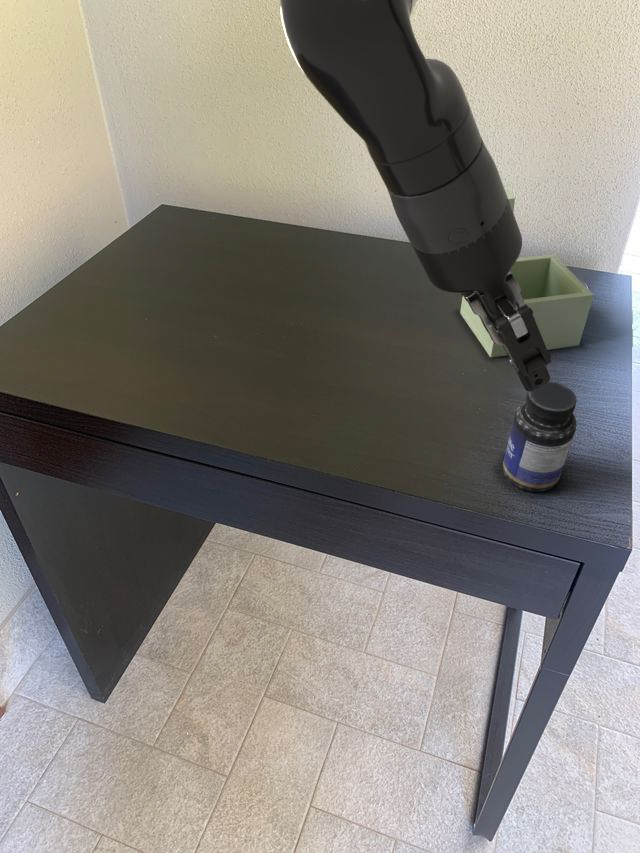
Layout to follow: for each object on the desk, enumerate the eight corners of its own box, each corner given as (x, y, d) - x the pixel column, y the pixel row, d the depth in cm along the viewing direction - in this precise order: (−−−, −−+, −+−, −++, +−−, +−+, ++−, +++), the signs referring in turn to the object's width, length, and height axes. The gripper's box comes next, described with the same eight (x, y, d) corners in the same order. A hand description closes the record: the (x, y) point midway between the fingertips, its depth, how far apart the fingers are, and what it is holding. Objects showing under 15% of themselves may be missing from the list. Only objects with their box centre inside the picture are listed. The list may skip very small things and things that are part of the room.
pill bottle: (505, 449, 77) (523, 371, 70) (560, 460, 76) (585, 382, 69) (498, 487, 73) (517, 408, 66) (557, 500, 72) (583, 420, 64)
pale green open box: (541, 302, 101) (553, 254, 96) (579, 345, 93) (594, 294, 87) (460, 313, 99) (467, 263, 94) (490, 357, 91) (500, 306, 85)
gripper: (545, 231, 44) (596, 384, 55) (465, 146, 54) (521, 289, 65) (441, 291, 45) (511, 428, 56) (382, 198, 55) (451, 329, 66)
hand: (516, 354), depth 61 cm, fingers open, 8 cm apart
